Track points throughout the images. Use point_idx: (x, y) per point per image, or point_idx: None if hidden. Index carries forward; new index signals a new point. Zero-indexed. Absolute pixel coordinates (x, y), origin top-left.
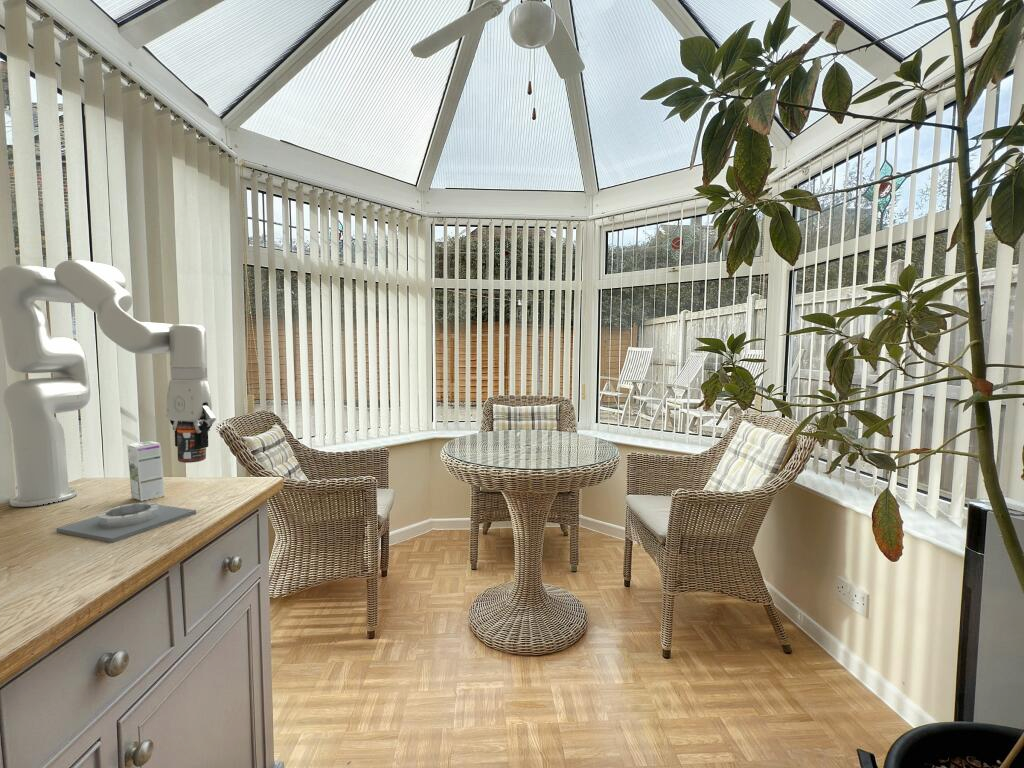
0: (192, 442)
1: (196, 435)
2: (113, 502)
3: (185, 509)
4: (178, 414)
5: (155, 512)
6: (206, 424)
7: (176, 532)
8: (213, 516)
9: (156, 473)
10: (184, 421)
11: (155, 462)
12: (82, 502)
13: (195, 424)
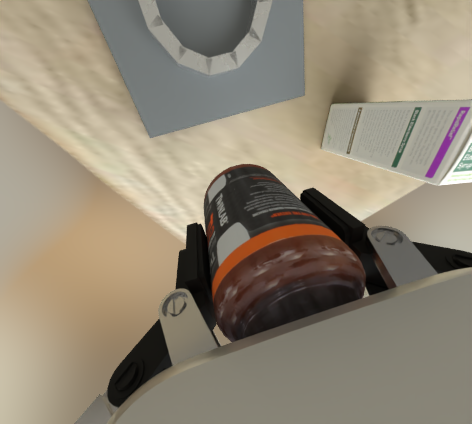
0: (210, 233)
1: (185, 272)
2: (379, 67)
3: (174, 126)
4: (413, 407)
5: (167, 52)
6: (111, 389)
7: (6, 33)
8: (99, 150)
9: (361, 146)
10: (273, 328)
11: (386, 151)
12: (443, 24)
13: (196, 344)
